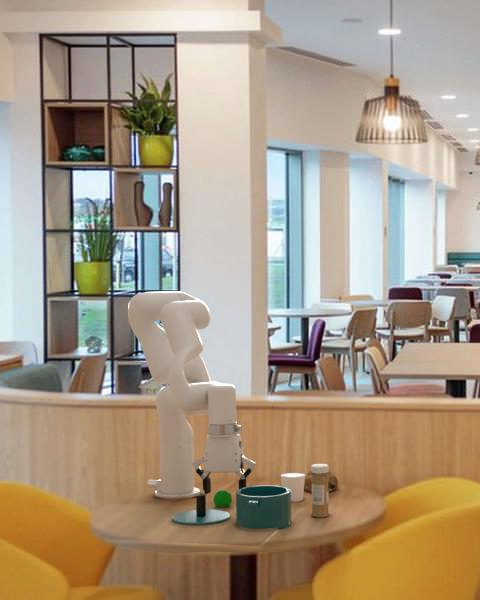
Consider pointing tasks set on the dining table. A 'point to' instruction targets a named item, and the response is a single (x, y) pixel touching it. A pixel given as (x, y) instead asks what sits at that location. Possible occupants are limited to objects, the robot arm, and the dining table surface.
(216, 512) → the lid
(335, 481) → the bread roll
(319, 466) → the spice jar
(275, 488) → the pot
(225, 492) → the polyhedron
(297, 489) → the white cup
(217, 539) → the dining table surface
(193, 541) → the dining table surface
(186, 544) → the dining table surface
